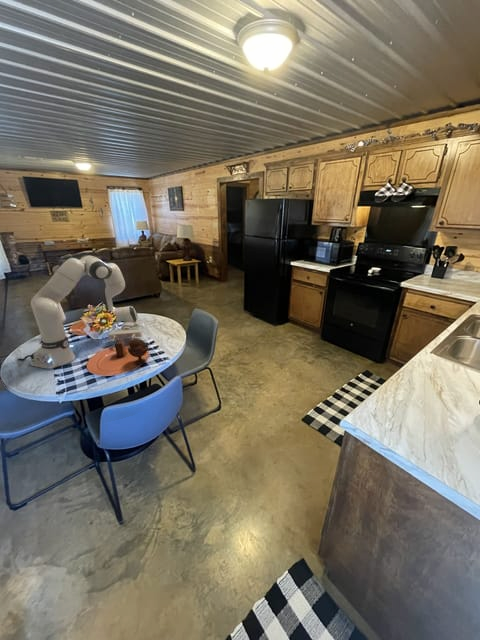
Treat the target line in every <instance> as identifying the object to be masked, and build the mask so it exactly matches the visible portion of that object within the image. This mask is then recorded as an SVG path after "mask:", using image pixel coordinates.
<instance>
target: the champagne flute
mask: <svg viewBox="0 0 480 640" xmlns="http://www.w3.org/2000/svg"><path fill="white" fill-rule="evenodd" d="M58 306H59V310H60V314H61V318H62V323H63V324H64V323H65V321H66V319H67V317H66V315H65V313H64V309H63V307H62V305H61V303H60V302H59V303H58ZM65 334H66V335H67V337H68V338H69V337H71V334H70V333H65Z"/></svg>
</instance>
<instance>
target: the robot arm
mask: <svg viewBox="0 0 480 640" xmlns="http://www.w3.org/2000/svg"><path fill="white" fill-rule="evenodd" d="M86 275H88V276H89V277H91V278H93V279H95V280H98V281H99V280H100V281H102V280H103V281H104V283H105V287H104V289H103V291H102V294H103V295H102V296H103V302H104V306H105V311H106V310H109V311H111V312H113V313H115V314H116V321H115V323H114V324H116V323H119V322H121V323H122V322H123V324H122V325H121V327H120V328H118V329H117V328H116V329H112V330H110V331H109V333H108V334H107V336H108V339H109V340H113V341H114V342H116V340H121V339H128V338H129V340H130V341H131V340H133V339H136V338H141V337H142V336H143V330H142V326H141V324H139V320H138V311H137V310H136V309H135V308H134V307H133V306H132V305H128V306H121V307H115V306H114V304H113V298H114V297H116V296H118V295H120V294H121V293H123V291H124V290H125V288H126V281H125V278H124V276H123V273H122V271H121V269H120V267H119V266H118V265H117V264H116V263H113V262H107V263H106V262H104V261H102V259H100V258H98V256H97V257H96V256H94V255H92V254H84V255H82V256H80V257H78V258H74V257H69V258H68V259H67V260H65V261H64V262H63V263H62V264H61V265H60V266H59V267H58V269H57V270H55V272H54V274H53V275H52V276H51V277H50V279H49V280H48V281H47V282H46V283H45V284H44V285H43V287H41V288H40V289H39V290H38V291H37V292H36V293H35V295H33V296H32V298H31V300H30V307H31V310H32V313H33V315H34V318H35V321H36V324H37V328H38V331H39V334H40V337H41V341H39V342H38V344H39V345H41V346H40V347H39V348H38V349H37V350H36V351H34V352H33V353H32V354H28V355H26V356H24V357H23V358H17V361H25V360H26V359H27V358H29V357H30V359H31V361H30V363H29V365H30V366H31V367H37V368H42V369H47V370H51V369H54V368H57V367H58V368H59V367H61V366H64V365H67V364H70V363H72V362H73V361H74V360H76V354H75V353H74V350H73V349H72V348H73V347H74V345H73V344H72V345H71V344H70V342H69V337H67V335H66V334H67V333H66V329H65V327H64V322H63V323H62V318H61V314H60V310H59V306H58V303H60V302H62V301H63V300H64V299H65V298H66V297H68V295H70V294H71V292H72V291H73V290H74V288H75V287H76V286H77V284H78V283H79V281H80V280H81V279H82V278H83V277H84V276H86ZM118 310H119V311H118Z"/></svg>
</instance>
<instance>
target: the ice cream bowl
mask: <svg viewBox="0 0 480 640" xmlns="http://www.w3.org/2000/svg"><path fill="white" fill-rule="evenodd" d="M148 351H149V344H147V343H146V342H145V341H144V340H142V339H138V338H133V339H131V340H130V341H129V343H128V348H127V352H128V353H129V354H130V355H131V356H132V357H135V358H138V359H137V360H136V361H135V364H136V365H139V366H140V365H144V364H145V363H146V360H145V358H142V357H144V356H145V355H146V354H147V353H148Z"/></svg>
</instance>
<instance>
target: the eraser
mask: <svg viewBox="0 0 480 640" xmlns="http://www.w3.org/2000/svg"><path fill="white" fill-rule="evenodd" d="M114 342H115V343H114V348H115V354H116V358H125V356H126V354H127V348H126V343H125V338H120V339H117V340H116V341H114Z"/></svg>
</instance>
